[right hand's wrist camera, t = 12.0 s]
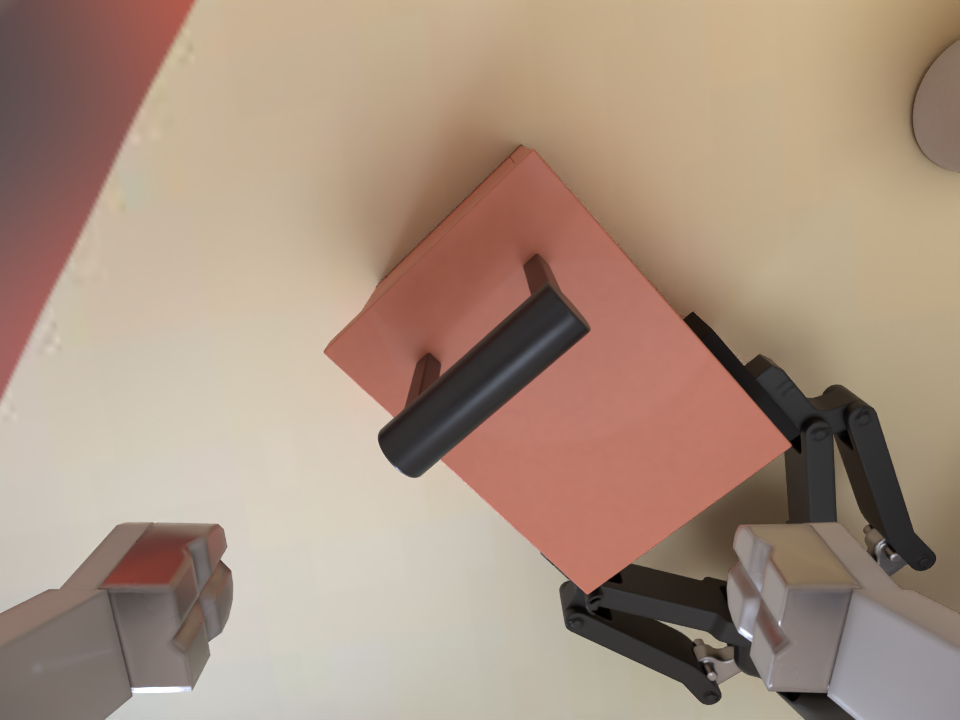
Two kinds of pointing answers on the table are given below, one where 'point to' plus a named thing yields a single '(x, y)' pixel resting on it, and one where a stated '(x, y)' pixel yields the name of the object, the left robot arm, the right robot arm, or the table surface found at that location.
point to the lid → (553, 380)
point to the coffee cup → (940, 110)
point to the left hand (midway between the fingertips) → (598, 404)
